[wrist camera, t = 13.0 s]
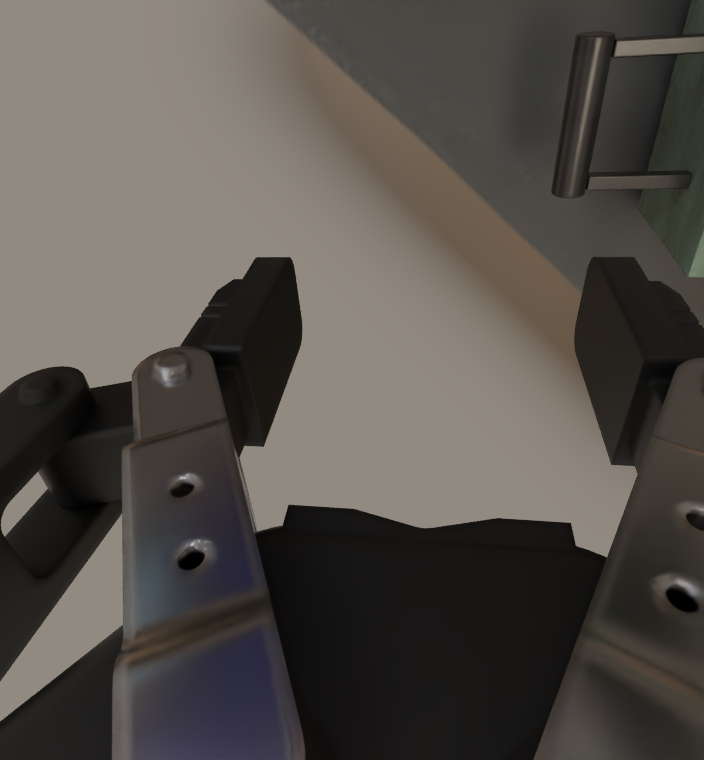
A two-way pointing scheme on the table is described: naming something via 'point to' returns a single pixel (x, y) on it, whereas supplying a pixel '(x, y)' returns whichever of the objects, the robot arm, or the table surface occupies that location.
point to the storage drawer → (672, 144)
